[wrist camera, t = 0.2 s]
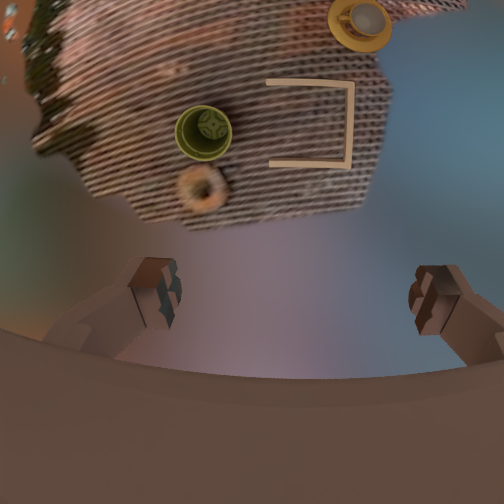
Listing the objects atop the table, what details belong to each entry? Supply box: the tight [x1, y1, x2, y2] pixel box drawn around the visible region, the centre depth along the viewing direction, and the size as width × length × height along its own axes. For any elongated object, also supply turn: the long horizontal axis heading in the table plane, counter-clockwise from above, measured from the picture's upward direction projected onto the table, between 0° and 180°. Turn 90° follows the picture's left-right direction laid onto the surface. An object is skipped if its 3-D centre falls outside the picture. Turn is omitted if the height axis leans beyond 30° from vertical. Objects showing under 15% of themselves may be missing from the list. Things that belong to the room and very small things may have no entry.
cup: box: [327, 0, 392, 53], centre depth 36 cm, size 12×12×5 cm
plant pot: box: [175, 105, 232, 161], centre depth 48 cm, size 9×9×9 cm
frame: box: [266, 78, 355, 169], centre depth 49 cm, size 16×15×2 cm
